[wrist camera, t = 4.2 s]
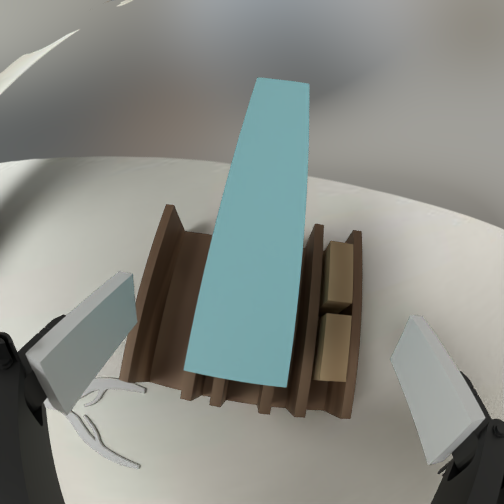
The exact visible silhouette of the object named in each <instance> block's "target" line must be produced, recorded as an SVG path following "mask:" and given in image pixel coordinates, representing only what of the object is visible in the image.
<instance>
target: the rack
mask: <svg viewBox="0 0 504 504" xmlns="http://www.w3.org/2000/svg"><path fill="white" fill-rule="evenodd" d="M323 234H324V225H320V224H315V225H314V227H313V230H312V232H311V235H310V237H309V240H308V242H307V244H306V247H305V248H303V252H302V264H301V275H300V285H299V295H298V304H297V313H296V321H295V330H294V338H293V345H292V353H291V360H290V367H289V374H288V381H287V387H286V388H285V387H276V386H268V385H260V384H253V383H246V382H240V381H234V380H228V379H223V378H217V377H212V376H207V375H202V374H198V373H193V372H189V371H184V365H185V360H186V355H187V350H188V344H189V339H190V334H191V329H192V325H193V320H194V315H195V310H196V305H197V301H198V296H199V292H200V287H201V283H202V278H203V274H204V269H205V265H206V261H207V257H208V252H209V248H210V244H211V240H212V236H213V235H209V234H202V233H194V232H187V231H185V230H184V228H183V226H182V223H181V221H180V218H179V216H178V214H177V211H176V209H175V206H174V205H168V204H166V206H165V209H164V212H163V215H162V217H161V220H160V223H159V226H158V229H157V232H156V235H155V238H154V241H153V244H152V247H151V251H150V254H149V257H148V260H147V264H146V267H145V270H144V274H143V277H142V281H141V284H140V288H139V291H138V295H137V299H136V303H135V306H136V315H137V323H136V325H135V326H134V327H133V328H132V330H131V331H130V332H129V333H128V336H127V341H126V345H125V350H124V355H123V360H122V365H121V371H120V376H119V380H121V381H124V382H127V383H135V382H152V383H155V384H159V385H163V386H166V387H170V388H174V389H178V390H182V391H181V397H180V399H185V400H189V401H192V400H194V399H196V398H198V397H200V396H202V395H203V396H208V397H211V398H210V404H209V405H211V406H217V407H221V406H222V404H223V403H224V402H225V401H226V400H229V401H235V402H241V403H248V404H255V405H257V407H258V412H259V413H260V414H269V415H270V410H271V407H280V408H286V409H287V410H288V411H289V412H290V413H291V414H292V415H293V416H294V417H303V418H305V414H306V410H324V411H326V412H328V413H330V414H332V415H334V416H336V417H338V418H340V419H350V418H351V412H352V405H353V399H354V392H355V384H356V376H357V366H358V356H359V345H360V331H361V312H362V232H361V231H356V230H353V231H352V233H351V234H350V236H349V238H348V239H347V241H346V242H345V243H348V244H353V300H352V304H350V305H349V306H348V307H346V308H345V309H343V310H342V311H341V312H339V313H338V314H339V315H349V316H352V319H351V334H350V346H349V357H348V366H347V375H346V382H339V381H320V380H312V379H311V375H312V368H313V360H314V351H315V343H316V334H317V324H318V320H319V319H320V318H321V317H318V313H319V302H320V289H321V274H322V257H323V253H324V251H323Z"/></svg>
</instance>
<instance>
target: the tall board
mask: <svg viewBox="0 0 504 504" xmlns="http://www.w3.org/2000/svg"><path fill="white" fill-rule="evenodd" d="M308 146H309V84H307V83H301V82H294V81H286V80H278V79H269V78H257V81H256V83H255V87H254V90H253V93H252V96H251V99H250V102H249V106H248V109H247V112H246V115H245V119H244V122H243V125H242V129H241V132H240V136H239V139H238V143H237V146H236V149H235V153H234V157H233V160H232V163H231V167H230V171H229V174H228V178H227V182H226V185H225V189H224V193H223V197H222V200H221V204H220V208H219V212H218V216H217V220H216V224H215V228H214V232H213V236H212V240H211V244H210V248H209V252H208V257H207V261H206V265H205V269H204V274H203V278H202V283H201V287H200V292H199V296H198V301H197V305H196V310H195V315H194V320H193V325H192V329H191V334H190V339H189V344H188V350H187V355H186V360H185V365H184V371H189V372H193V373H198V374H202V375H207V376H212V377H217V378H223V379H228V380H234V381H240V382H246V383H253V384H260V385H268V386H276V387H285V388H286V387H287V381H288V374H289V367H290V360H291V353H292V345H293V338H294V330H295V321H296V313H297V304H298V295H299V285H300V275H301V264H302V252H303V240H304V226H305V211H306V194H307V173H308Z"/></svg>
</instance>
